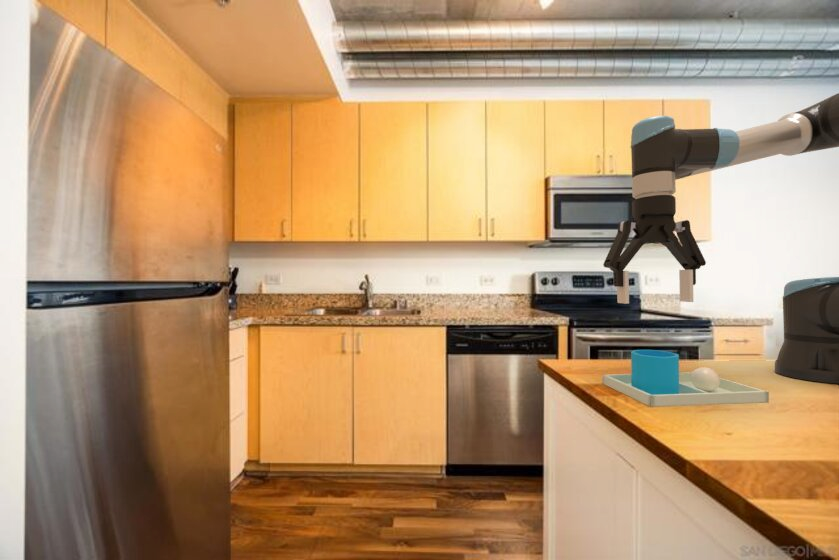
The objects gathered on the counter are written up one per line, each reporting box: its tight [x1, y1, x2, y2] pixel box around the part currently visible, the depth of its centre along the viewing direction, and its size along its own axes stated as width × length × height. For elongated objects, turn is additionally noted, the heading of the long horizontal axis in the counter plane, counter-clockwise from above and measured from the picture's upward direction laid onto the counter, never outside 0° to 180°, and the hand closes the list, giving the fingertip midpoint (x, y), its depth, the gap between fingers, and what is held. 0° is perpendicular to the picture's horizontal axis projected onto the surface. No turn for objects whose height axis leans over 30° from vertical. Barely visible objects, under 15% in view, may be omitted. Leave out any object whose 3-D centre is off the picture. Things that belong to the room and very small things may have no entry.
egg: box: [691, 366, 720, 391], centre depth 80 cm, size 5×5×5 cm
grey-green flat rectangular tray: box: [601, 371, 770, 408], centre depth 80 cm, size 23×16×2 cm
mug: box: [630, 349, 680, 395], centre depth 80 cm, size 12×8×8 cm
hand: (655, 302), depth 80 cm, fingers open, 13 cm apart
